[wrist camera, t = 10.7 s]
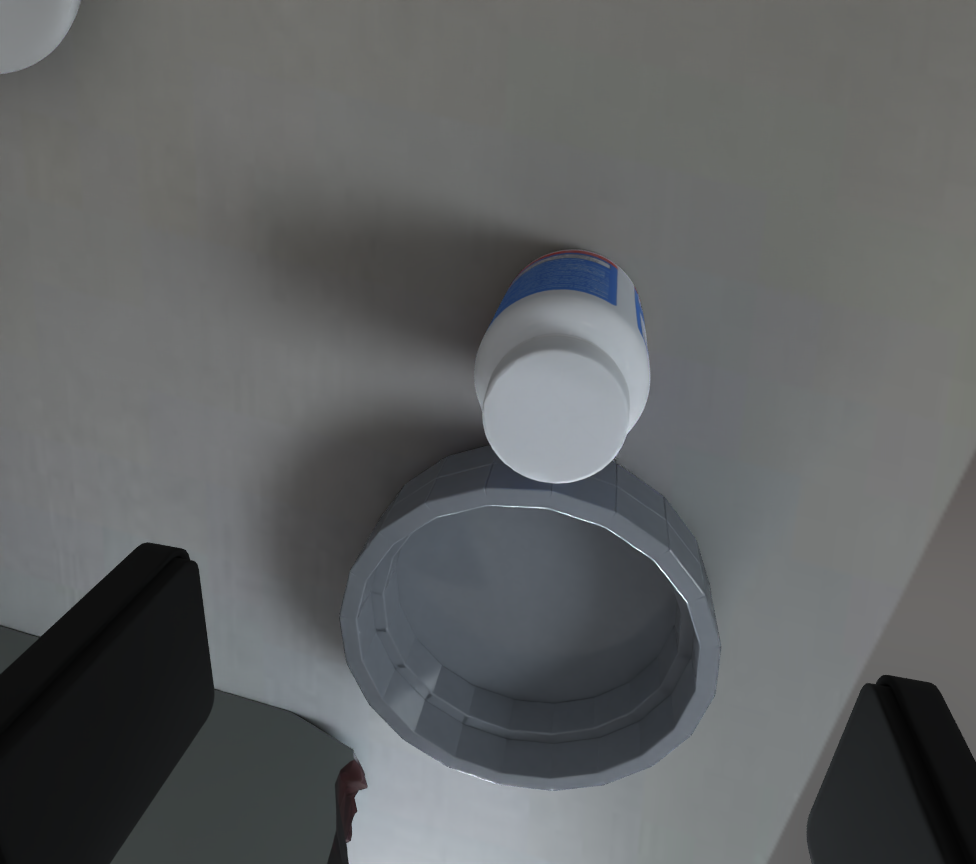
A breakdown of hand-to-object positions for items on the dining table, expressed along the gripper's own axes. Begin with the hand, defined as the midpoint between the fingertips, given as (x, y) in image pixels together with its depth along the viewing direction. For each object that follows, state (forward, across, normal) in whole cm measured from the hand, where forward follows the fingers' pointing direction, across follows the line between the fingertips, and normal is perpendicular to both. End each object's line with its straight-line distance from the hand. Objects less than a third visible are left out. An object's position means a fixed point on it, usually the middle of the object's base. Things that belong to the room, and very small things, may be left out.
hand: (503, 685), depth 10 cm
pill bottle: (+20, 0, 0) cm, 20 cm away
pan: (+20, +1, +14) cm, 24 cm away
